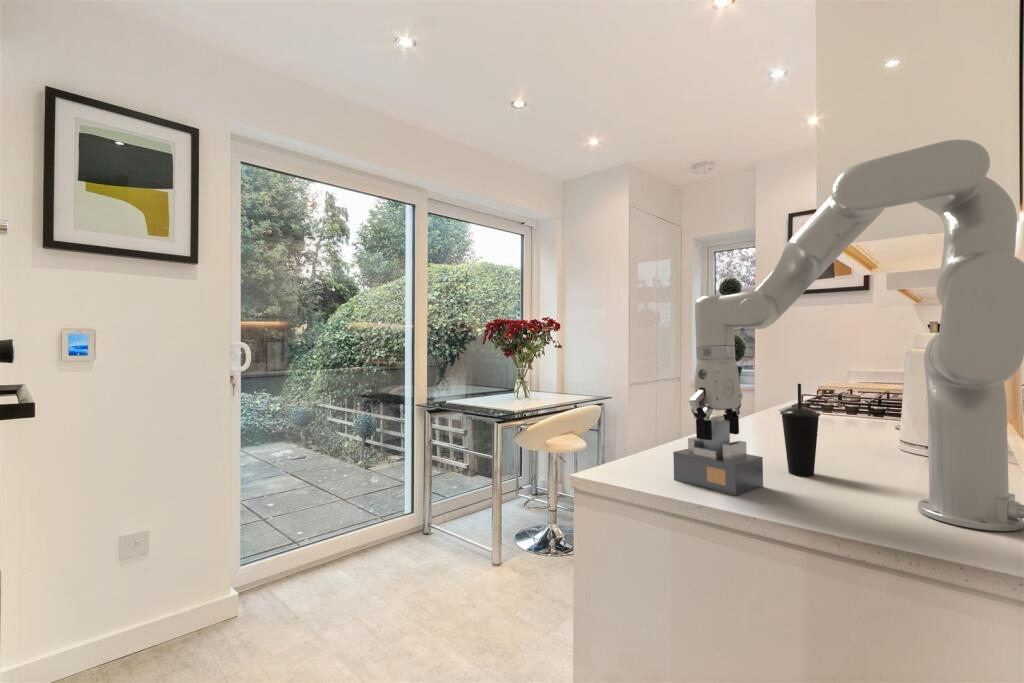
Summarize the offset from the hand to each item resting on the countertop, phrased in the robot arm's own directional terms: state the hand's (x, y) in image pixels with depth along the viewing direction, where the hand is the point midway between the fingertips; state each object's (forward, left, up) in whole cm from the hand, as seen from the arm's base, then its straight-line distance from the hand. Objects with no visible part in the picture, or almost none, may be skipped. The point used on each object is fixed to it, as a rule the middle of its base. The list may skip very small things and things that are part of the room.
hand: (718, 436), depth 101 cm
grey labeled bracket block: (0, 0, -10) cm, 10 cm away
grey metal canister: (0, 0, -4) cm, 4 cm away
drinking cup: (-7, -21, -10) cm, 24 cm away
